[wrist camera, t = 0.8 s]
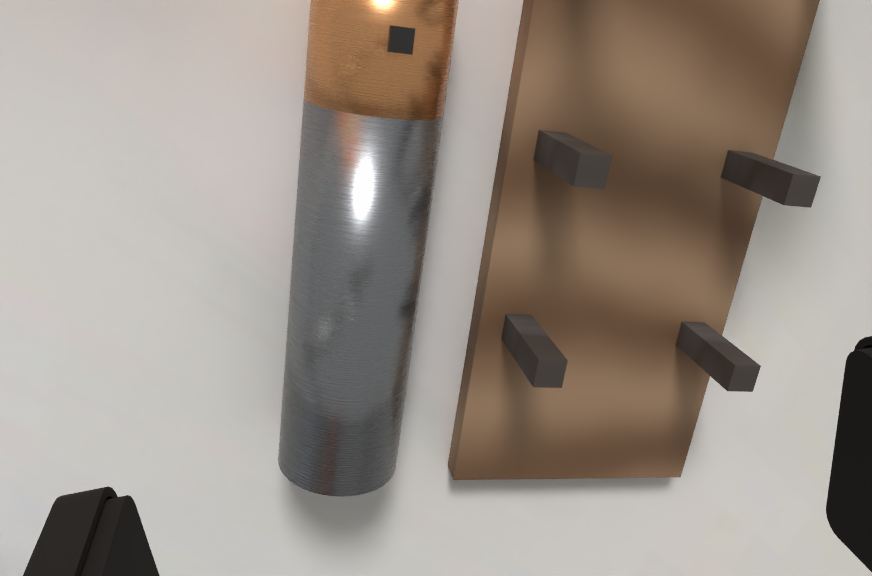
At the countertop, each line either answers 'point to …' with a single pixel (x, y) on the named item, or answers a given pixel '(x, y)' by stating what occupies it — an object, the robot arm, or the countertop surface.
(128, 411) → the countertop surface
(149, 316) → the countertop surface
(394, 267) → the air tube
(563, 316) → the board
